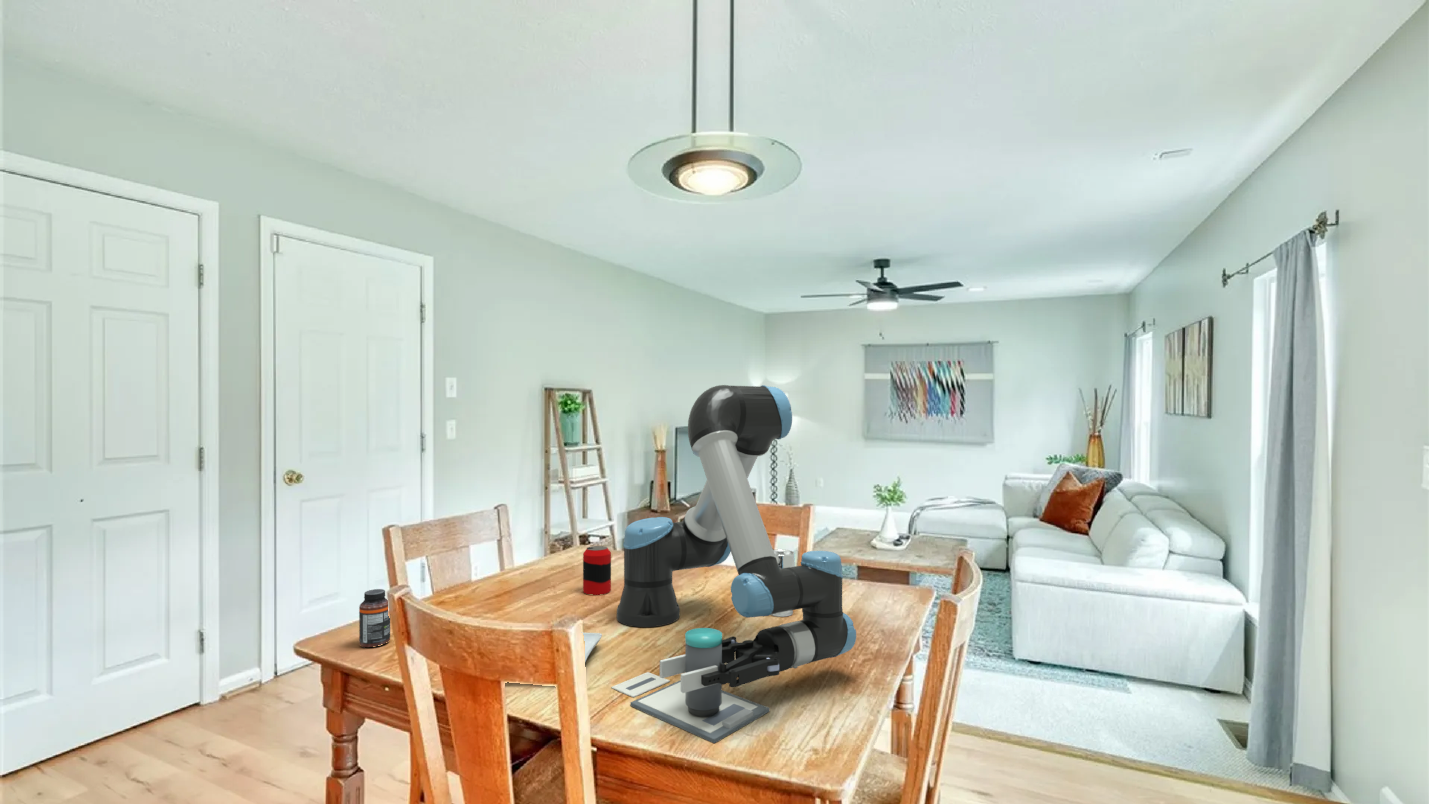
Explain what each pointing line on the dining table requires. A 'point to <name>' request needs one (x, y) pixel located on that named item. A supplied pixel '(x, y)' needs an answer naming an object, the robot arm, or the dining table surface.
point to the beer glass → (784, 561)
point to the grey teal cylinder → (698, 655)
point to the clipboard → (712, 728)
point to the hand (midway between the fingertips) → (671, 676)
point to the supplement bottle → (374, 619)
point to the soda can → (597, 570)
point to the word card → (640, 684)
